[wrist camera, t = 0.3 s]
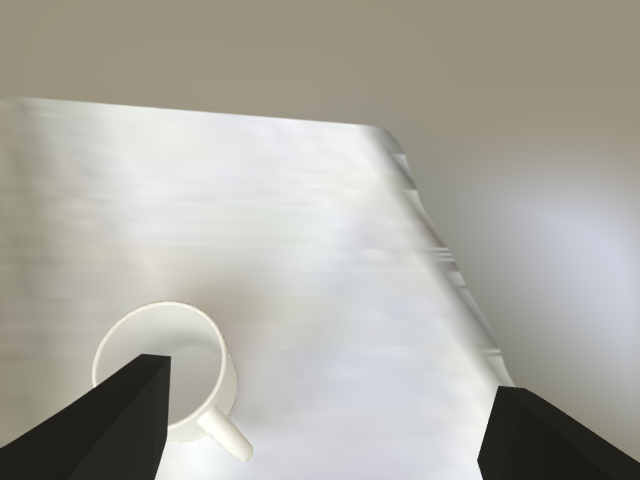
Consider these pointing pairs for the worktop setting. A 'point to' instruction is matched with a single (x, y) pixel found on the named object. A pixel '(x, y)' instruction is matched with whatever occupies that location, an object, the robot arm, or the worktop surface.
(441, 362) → the worktop surface
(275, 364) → the worktop surface
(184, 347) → the mug
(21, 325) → the worktop surface
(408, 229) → the worktop surface
